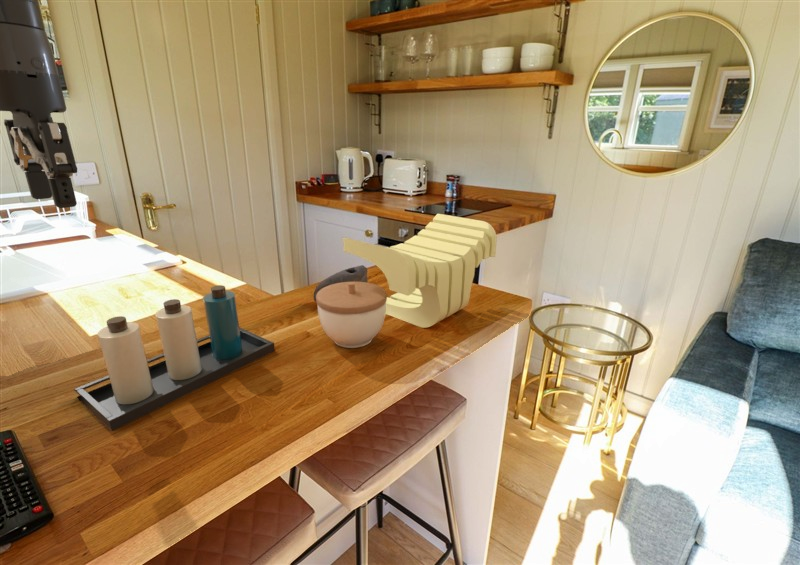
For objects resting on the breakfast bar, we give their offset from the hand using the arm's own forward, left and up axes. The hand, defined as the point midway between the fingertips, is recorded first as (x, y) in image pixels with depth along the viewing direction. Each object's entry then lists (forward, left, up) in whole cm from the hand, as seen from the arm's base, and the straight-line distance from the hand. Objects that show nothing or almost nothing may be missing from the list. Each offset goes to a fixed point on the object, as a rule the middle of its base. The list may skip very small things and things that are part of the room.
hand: (54, 202), depth 57 cm
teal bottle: (+11, +15, -27) cm, 32 cm away
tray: (+11, +8, -27) cm, 30 cm away
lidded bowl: (+24, +33, -27) cm, 49 cm away
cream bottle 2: (+11, +8, -27) cm, 30 cm away
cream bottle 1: (+11, 0, -27) cm, 29 cm away
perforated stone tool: (+10, +45, -27) cm, 53 cm away
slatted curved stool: (+27, +51, -27) cm, 64 cm away
